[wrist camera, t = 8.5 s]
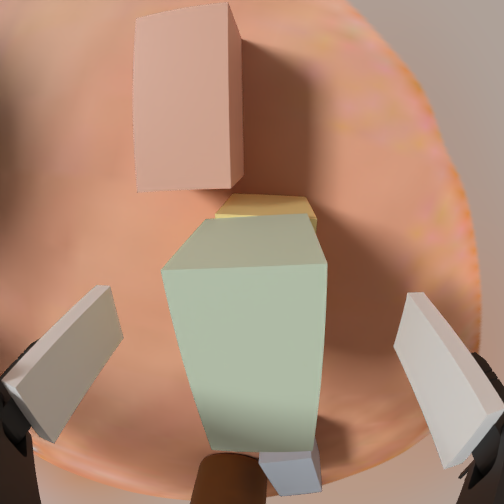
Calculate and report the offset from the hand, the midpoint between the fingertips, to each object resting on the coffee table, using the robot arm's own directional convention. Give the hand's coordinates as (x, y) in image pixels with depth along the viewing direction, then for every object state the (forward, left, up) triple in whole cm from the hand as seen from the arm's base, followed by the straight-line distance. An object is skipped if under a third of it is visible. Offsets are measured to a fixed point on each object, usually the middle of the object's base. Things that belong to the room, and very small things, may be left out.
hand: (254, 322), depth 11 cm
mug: (-4, -27, -7) cm, 28 cm away
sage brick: (0, 0, -2) cm, 2 cm away
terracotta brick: (-3, +9, -7) cm, 11 cm away
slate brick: (+3, -18, -7) cm, 19 cm away
